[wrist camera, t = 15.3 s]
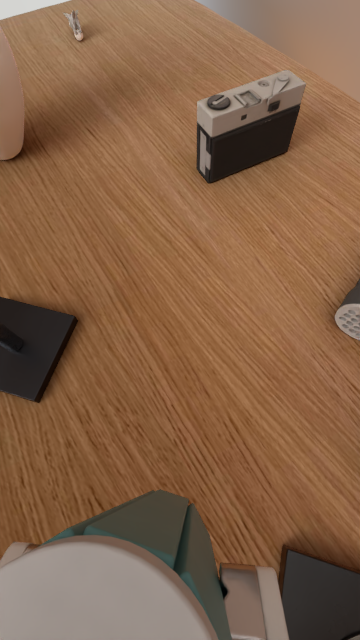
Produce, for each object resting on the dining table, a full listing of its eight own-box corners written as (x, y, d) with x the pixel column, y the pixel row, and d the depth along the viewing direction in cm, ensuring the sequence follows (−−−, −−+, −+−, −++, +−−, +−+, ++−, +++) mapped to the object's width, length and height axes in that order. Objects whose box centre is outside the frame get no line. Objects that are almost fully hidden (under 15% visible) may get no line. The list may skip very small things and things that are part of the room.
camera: (258, 124, 51) (272, 50, 42) (288, 153, 48) (310, 79, 39) (183, 153, 49) (181, 81, 40) (209, 185, 45) (213, 115, 36)
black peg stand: (39, 403, 32) (0, 386, 26) (-42, 378, 34) (-97, 356, 28) (78, 320, 37) (53, 288, 30) (4, 301, 38) (-35, 267, 32)
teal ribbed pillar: (194, 625, 13) (188, 1358, 2) (98, 587, 14) (-253, 1007, 3) (217, 508, 15) (277, 607, 4) (132, 480, 16) (-12, 500, 5)
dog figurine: (88, 46, 69) (78, 14, 66) (87, 30, 62) (76, -7, 59) (74, 50, 68) (63, 17, 66) (71, 33, 61) (59, -4, 59)
